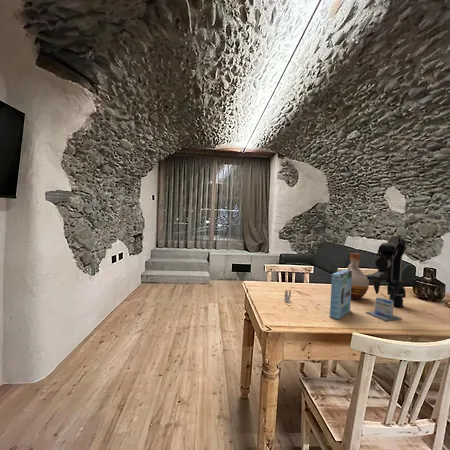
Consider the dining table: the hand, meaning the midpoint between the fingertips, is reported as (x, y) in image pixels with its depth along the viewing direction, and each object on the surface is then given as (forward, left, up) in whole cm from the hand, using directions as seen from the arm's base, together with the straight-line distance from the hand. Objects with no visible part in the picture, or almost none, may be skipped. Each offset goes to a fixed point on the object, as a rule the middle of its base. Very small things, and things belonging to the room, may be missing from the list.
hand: (384, 296), depth 142 cm
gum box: (-8, -22, -11) cm, 26 cm away
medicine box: (0, 0, -11) cm, 11 cm away
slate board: (0, 0, -11) cm, 11 cm away
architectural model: (-31, -34, -12) cm, 47 cm away
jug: (-30, +9, -11) cm, 33 cm away
